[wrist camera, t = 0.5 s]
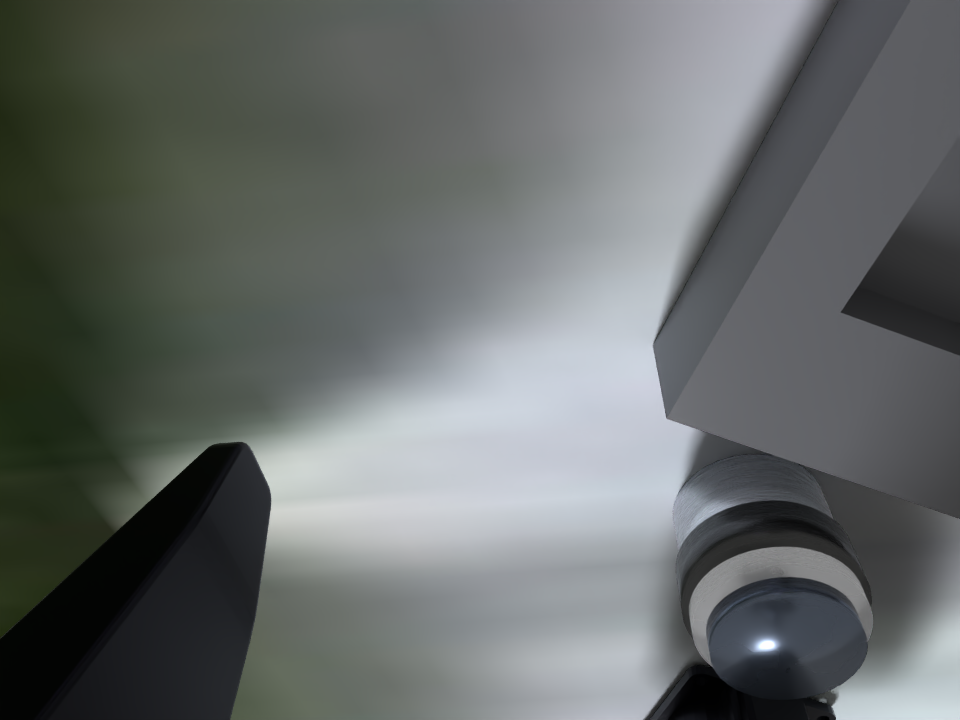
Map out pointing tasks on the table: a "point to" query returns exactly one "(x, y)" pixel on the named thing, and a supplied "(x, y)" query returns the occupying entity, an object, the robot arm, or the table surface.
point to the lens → (769, 579)
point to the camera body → (841, 268)
